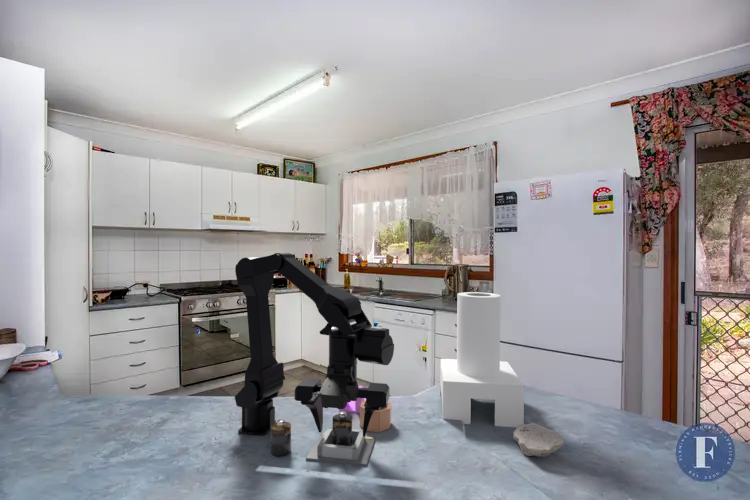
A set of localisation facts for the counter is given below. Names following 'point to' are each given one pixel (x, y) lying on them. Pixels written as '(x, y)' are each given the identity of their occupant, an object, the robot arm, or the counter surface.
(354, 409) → the bracket
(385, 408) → the cup
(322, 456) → the cradle
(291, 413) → the counter surface
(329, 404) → the robot arm
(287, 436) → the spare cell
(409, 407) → the counter surface
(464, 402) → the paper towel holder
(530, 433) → the fossil
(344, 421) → the cell
